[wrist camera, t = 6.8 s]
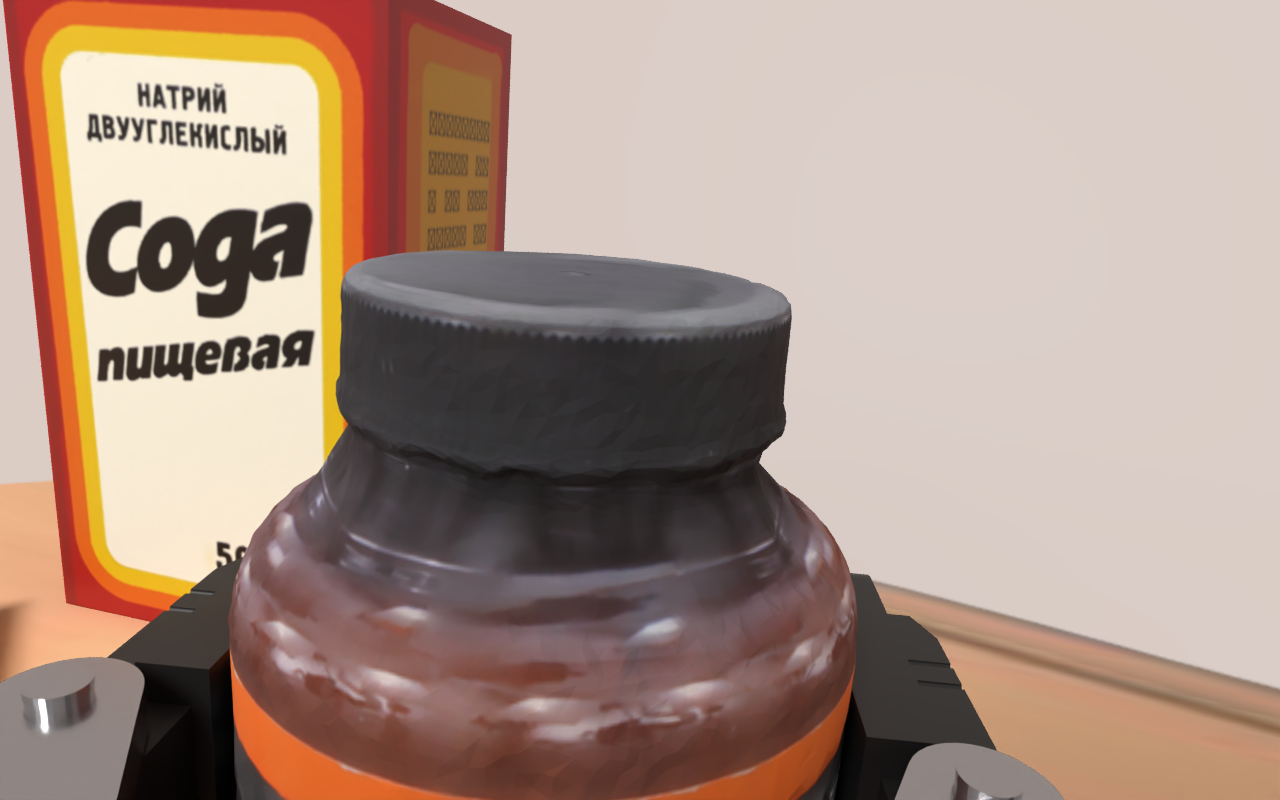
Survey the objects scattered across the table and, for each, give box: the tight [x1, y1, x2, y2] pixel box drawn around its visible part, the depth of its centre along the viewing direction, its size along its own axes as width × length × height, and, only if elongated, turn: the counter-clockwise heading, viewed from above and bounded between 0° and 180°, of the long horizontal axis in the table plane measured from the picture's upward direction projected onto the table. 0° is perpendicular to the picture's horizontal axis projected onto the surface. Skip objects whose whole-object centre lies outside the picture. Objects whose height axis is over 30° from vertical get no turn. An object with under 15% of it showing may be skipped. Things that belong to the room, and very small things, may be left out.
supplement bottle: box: [228, 250, 857, 800], centre depth 9 cm, size 6×6×11 cm
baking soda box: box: [3, 0, 511, 622], centre depth 23 cm, size 10×6×16 cm
